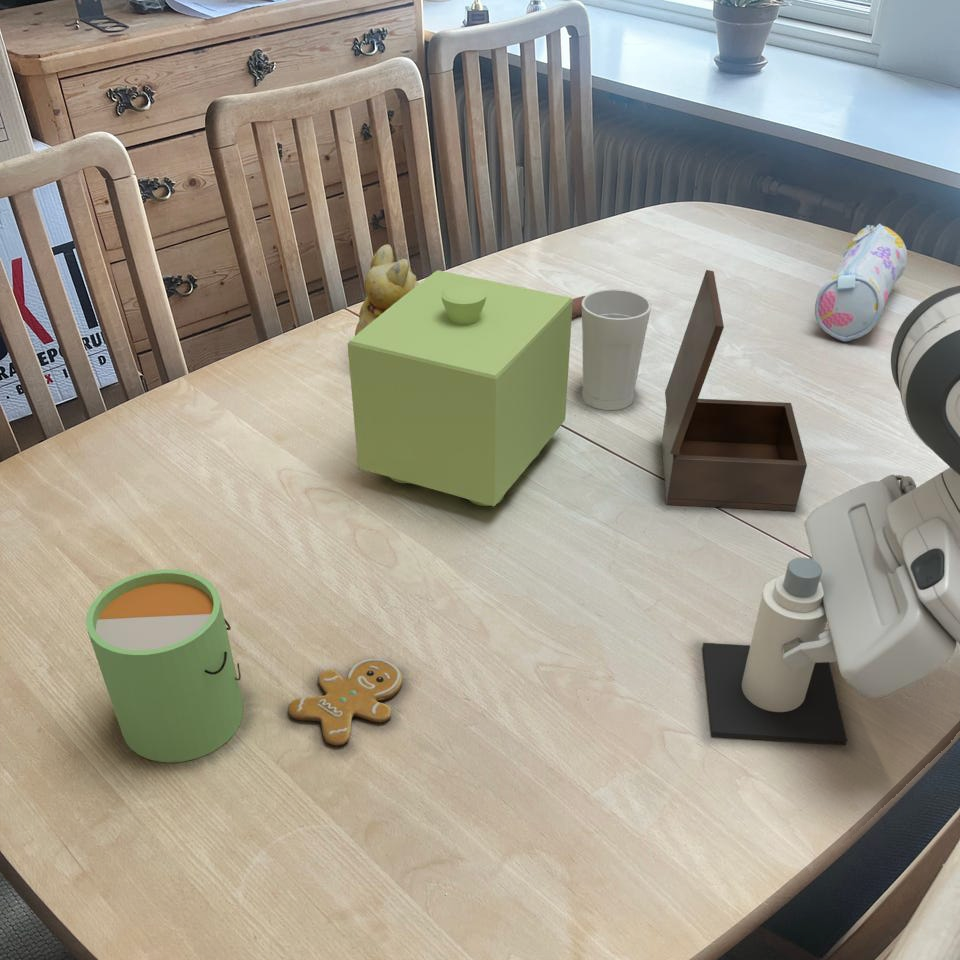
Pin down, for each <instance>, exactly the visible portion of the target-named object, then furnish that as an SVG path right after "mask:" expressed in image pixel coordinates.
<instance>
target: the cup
mask: <svg viewBox="0 0 960 960" xmlns="http://www.w3.org/2000/svg"><path fill="white" fill-rule="evenodd" d="M584 296H585V297H584V298H583V300H582V315H581V331H582V333H581V335H582V339H581V340H582V389H581V399H582V401H583V402H584V403H585V404H586V405H587V406H589V407H591V408H594V409H597V410H603V411H618V410H623V409H625V408H628V407H629V406H631V405H632V404H633V402H634V398H635V390H636V386H637V385H636V384H637V379H638V375H639V369H640V364H641V359H642V353H643V349H644V344H645V339H646V333H647V329H648V324H649V320H650V314H651V309H652V303H651V301H650V300H649V299H648V298H647V297H646V296H645V295H643V294H640V293H638V292H636V291H632V290H627V289H620V288H618V289H617V288H607V289H600V290H596V291H592V292H590V293H588V294H587V295H584Z"/></svg>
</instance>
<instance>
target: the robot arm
mask: <svg viewBox="0 0 960 960" xmlns="http://www.w3.org/2000/svg"><path fill="white" fill-rule="evenodd" d="M890 369H891V374H892V378H893V381H894V383H895V386H896V388H897V389H898V391H899V394H900V395H899V396H900V399H901V404H902V406H903V410H904V414H905V418H906V421H907V423H908V425H909V427H910V428H911V430H912V433H914V435H915V436H916V437H917V438H918V439H919V441H920V442H921V443H923V444H924V445H925V446H926V447H927V448H928V449H930V450H931V451H933V453H935V455H936V456H938V458H939V459H940V460H942V461H943V462H944V463H945V464H946V465H947V466H948V468H946V469H944V470H943V471H941V472H940V473H937V475H934V476H933V477H932V478H930V479H928V480H926V481H924V482H923V483H921V484H920V485H918V486H917V484H916V482H915V481H914V479H913V478H912V477H911V476H909V475H906V476H905V475H901V474H890V475H887V476H885V477H884V478H881V479H880V480H879V481H878V480H873V481H868V482H866V483H863V484H860V485H859V486H856V487H853V488H851V489H849V490H848V491H846V492H844V493H842V494H840V495H838V496H836V497H834V498H832V499H831V500H829V501H826V502H824V503H823V504H822V505H820V506H818V507H816V508H815V509H814V510H812V512H811V513H810V514H809V515H808V516H807V517H806V519H805V521H804V524H803V526H804V530H805V534H806V538H807V542H808V545H809V550H810V554H811V557H809V559H812V560H814V561H816V562H817V563H818V564H819V565H820V566H821V568H822V574H821V577H820V582H821V584H822V588H823V592H824V595H823V598H822V600H823V604H824V608H825V612H826V616H827V624H828V629H825V631H824V632H823V633H821V634H820V635H819V639H820V640H819V641H812V642H806V643H803V641H802V640H800V639H799V638H796V639H794V640H792V641H790V643H789V644H785V645H783V646H782V655H783V660H784V663H785V664H786V665H787V666H788V667H789V668H790V669H792V670H799V669H801V668H803V667H805V666H806V665H808V664H810V663H812V662H814V663H822V662H829V663H837V666H838V669H839V673H840V675H841V677H842V678H843V679H844V680H845V681H846V682H847V683H848V684H849V685H850V686H851V687H852V688H853V689H854V690H855V691H856V692H857V693H858V694H859V695H861V696H862V697H866V698H874V699H875V698H876V699H878V698H883V697H886V696H888V695H891V694H893V693H895V692H897V691H899V690H901V689H903V688H905V687H907V686H909V685H911V684H913V683H916V682H917V681H918V680H920V679H922V678H924V677H926V676H928V675H929V674H931V673H933V672H935V671H936V670H938V669H939V668H941V667H942V666H944V665H945V664H946V663H947V662H948V661H949V660H950V659H951V658H952V657H953V656H954V653H955V651H956V649H957V643H958V644H959V645H960V285H956V286H952V287H949V288H946V289H943V290H940V291H938V292H936V293H934V294H932V295H930V296H929V297H927V298H926V299H924V300H923V301H921V302H920V303H919V304H918V305H916V307H915V308H913V310H911V311H910V312H909V314H908V315H907V316H906V317H905V319H904V320H903V322H902V323H901V325H900V326H899V329H898V330H897V332H896V334H895V337H894V339H893V343H892V347H891V351H890Z"/></svg>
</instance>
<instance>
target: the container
mask: <svg viewBox="0 0 960 960" xmlns="http://www.w3.org/2000/svg"><path fill="white" fill-rule="evenodd" d="M418 284H419V285H417V286H416V287H415V288H413V289H412V290H411V291H410V292H408V293H407V294H406V295H405V296H403V297H402V298H401V299H400V300H398V301H397V302H396V303H395V304H393V305H392V306H391V307H390V308H388V309H387V310H386V311H385V312H383V313H382V314H381V315H380V316H379V317H377V318H376V319H375V320H374V321H372V322H371V323H370V324H369V325H368V326H366V327H365V328H364V329H363V330H361V331H360V332H359V333H358V334H357V335H356V336H355V335H354V336H353V337H352V338H351V339H350V340H349V342H347V352H348V364H349V376H350V387H351V390H350V391H351V401H352V412H353V421H354V422H353V423H354V434H355V446H356V455H357V456H356V457H357V465H358V469H360V470H364V471H367V472H370V473H374V474H378V475H380V476H384V477H388V478H389V479H391V480H392V481H393V482H396V483H398V484H399V483H400V484H413V485H416V486H420V487H423V488H427V489H431V490H434V491H438V492H442V493H445V494H448V495H452V496H456V497H459V498H463V499H467V500H468V501H470V503H472V504H474V505H477V506H481V507H489V506H491V507H495V506H496V505H497V504H500V503H501V502H502V501H503V500H504V498H505V495H506V494H507V492H508V491H509V490H510V488H511V487H512V486H513V485H514V483H516V481H517V480H518V479H519V478H520V477H521V475H522V474H523V473H524V472H525V470H526V469H527V468H528V467H529V466H530V464H531V463H532V462H533V460H534V459H536V458H538V457H539V456H540V453H541V451H542V450H543V448H544V447H545V446H546V445H547V444H548V442H549V441H550V440H551V439H552V437H553V436H554V435H555V433H556V432H557V431H558V430H559V429H560V427H562V425H563V423H564V422H565V421H566V414H567V413H566V412H567V401H568V400H567V398H568V397H567V396H568V385H569V383H568V381H569V369H570V353H571V337H572V336H571V335H572V321H573V320H572V319H573V317H572V303H573V300H572V299H573V298H572V297H570V296H565V295H560V294H555V293H550V292H545V291H541V290H536V289H532V288H527V287H523V286H517V285H514V284H513V285H512V284H508V283H502V282H498V281H493V280H488V279H484V278H483V279H482V278H478V277H473V276H468V275H463V274H459V273H458V274H457V273H454V272H450V271H449V272H448V271H444V270H439V269H437V270H435V271H434V272H433V273H431V274H430V275H429V276H427V277H426V278H424V279H423V280H422V281H421V282H420V283H418Z"/></svg>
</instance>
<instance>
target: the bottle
mask: <svg viewBox="0 0 960 960" xmlns="http://www.w3.org/2000/svg"><path fill="white" fill-rule="evenodd" d="M809 558H810V557H809ZM809 558H808V557H796V558H792V559H791V560H789V561H788V564H787V567H786V570H785V573H783V574H781V575H780V576H778V577H775V578H773V579H771V580H769V581H768V582H767V583H766V584H765V585H764V587H763V589H762V593H761V598H760V601H759V606H758V610H757V615H756V619H755V623H754V628H753V633H752V636H751V640H750V649H749V654H748V658H747V662H746V667H745V671H744V675H743V680H742V691H743V693H744V695H745V696H746V698H747V699H748V700H749V701H750V702H751V703H753V704H754V705H756V706H757V707H759V708H762V709H764V710H768V711H772V712H787V711H791V710H794V709H796V708H797V707H799V706H800V705H801V704H802V703H803V701H804V699H805V696H806V692H807V689H808V686H809V682H810V679H811V675H812V672H813V668H814V665H815V663H814V662H812V663H810V664H808V665H806V666H805V667H803V668H801V669H799V670H792V669H790V668H789V667H788V666H787V665H786V664H785V663H784V660H783V655H782V646H783V645H785V644H789V643H790V641H792V640H794V639H796V638H799V639H800V640H802V641H803V643H806V642H812V641H819V640H820V639H819V635H820V634H821V633H823V632H825V631H826V627H827V624H828V620H827V616H826V612H825V608H824V604H823V600H822V598H823V595H824V592H823V588H822V584H821V582H820V577H821V574H822V568H821V566H820V565H819V564H818V563H817V562H816V561H814V560H812V559H809Z"/></svg>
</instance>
